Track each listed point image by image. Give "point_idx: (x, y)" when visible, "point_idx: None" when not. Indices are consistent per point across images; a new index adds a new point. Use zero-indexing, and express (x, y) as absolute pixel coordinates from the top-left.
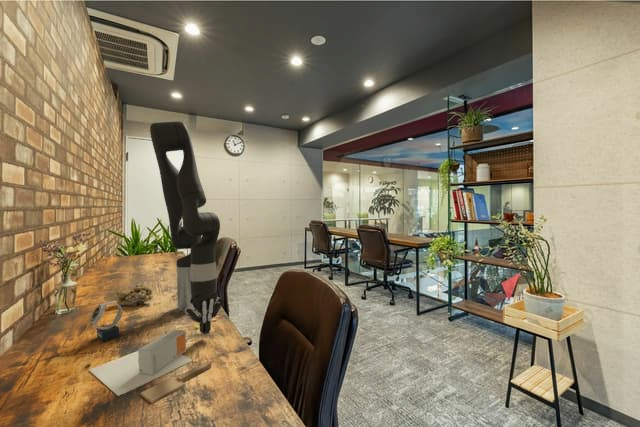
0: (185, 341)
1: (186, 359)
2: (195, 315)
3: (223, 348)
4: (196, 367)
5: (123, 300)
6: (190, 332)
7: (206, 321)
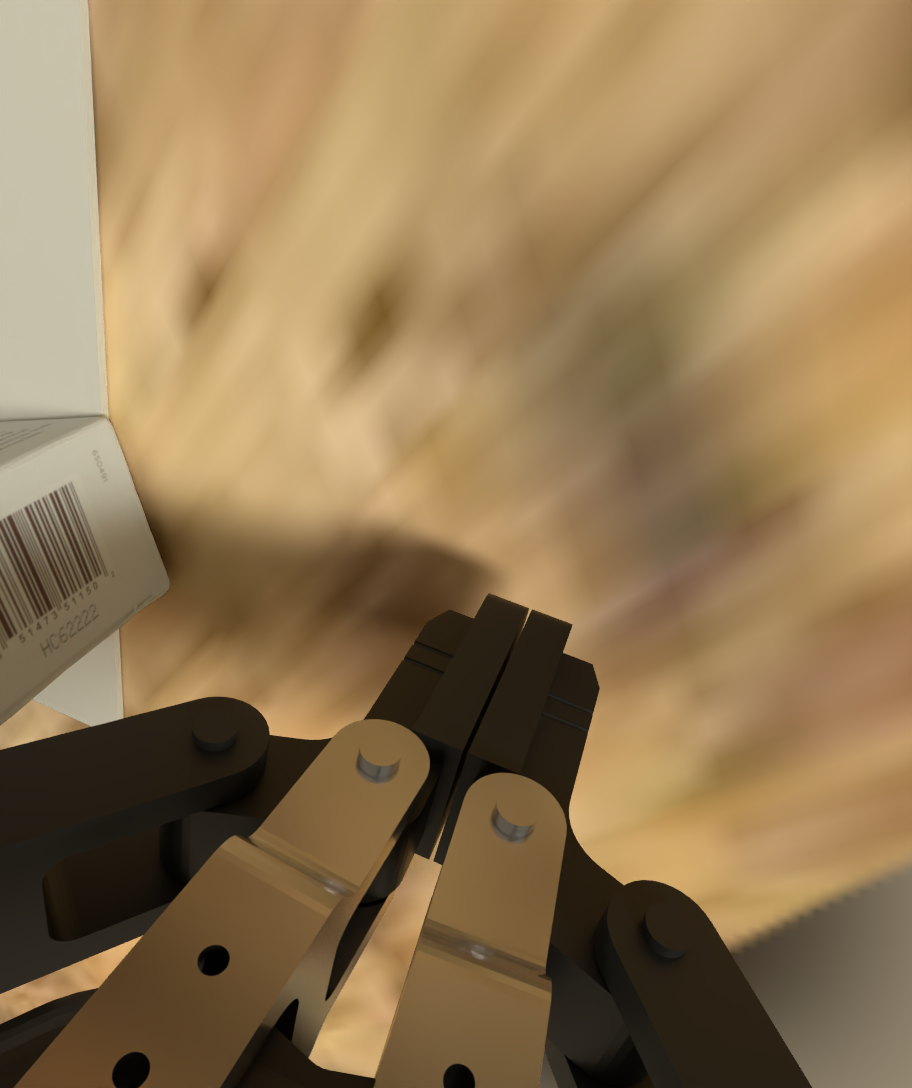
0: (67, 662)
1: (95, 682)
2: (13, 961)
3: (411, 888)
4: None
5: None
6: (697, 101)
7: (450, 838)
